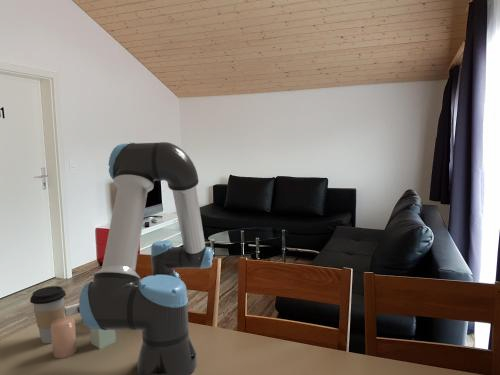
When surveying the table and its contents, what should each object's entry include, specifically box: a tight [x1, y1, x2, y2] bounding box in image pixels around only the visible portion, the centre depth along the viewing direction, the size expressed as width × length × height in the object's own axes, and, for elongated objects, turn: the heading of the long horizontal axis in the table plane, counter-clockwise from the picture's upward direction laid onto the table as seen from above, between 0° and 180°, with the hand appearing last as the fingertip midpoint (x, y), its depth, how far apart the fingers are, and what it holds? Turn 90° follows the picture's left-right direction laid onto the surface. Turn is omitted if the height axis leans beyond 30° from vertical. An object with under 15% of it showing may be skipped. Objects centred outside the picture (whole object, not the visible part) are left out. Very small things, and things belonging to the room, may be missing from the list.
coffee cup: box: [29, 285, 67, 344], centre depth 112 cm, size 9×9×15 cm
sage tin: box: [89, 328, 117, 350], centre depth 110 cm, size 5×5×8 cm
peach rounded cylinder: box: [51, 316, 78, 359], centre depth 105 cm, size 6×6×9 cm
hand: (65, 312), depth 115 cm, fingers closed
